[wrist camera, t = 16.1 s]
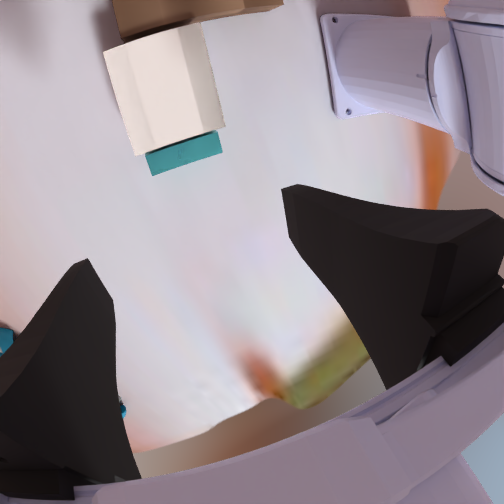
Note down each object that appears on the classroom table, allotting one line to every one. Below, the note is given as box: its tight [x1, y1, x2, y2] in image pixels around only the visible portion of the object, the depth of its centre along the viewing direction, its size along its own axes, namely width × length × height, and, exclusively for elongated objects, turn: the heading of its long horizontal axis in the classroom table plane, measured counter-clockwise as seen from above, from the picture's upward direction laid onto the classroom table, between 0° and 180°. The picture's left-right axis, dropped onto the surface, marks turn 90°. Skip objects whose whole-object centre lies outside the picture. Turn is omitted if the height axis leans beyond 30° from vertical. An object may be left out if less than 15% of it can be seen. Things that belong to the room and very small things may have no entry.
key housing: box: [103, 23, 226, 157], centre depth 15 cm, size 5×6×3 cm
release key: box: [145, 130, 223, 176], centre depth 15 cm, size 4×7×3 cm, turn 11°
